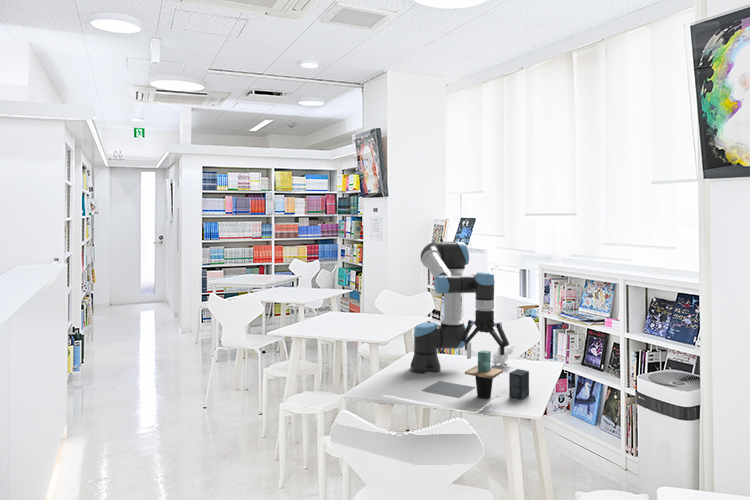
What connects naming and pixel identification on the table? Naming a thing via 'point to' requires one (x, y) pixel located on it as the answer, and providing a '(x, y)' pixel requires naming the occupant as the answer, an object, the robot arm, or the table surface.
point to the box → (518, 384)
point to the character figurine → (503, 356)
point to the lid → (484, 366)
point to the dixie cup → (483, 387)
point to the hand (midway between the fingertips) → (484, 360)
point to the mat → (448, 389)
